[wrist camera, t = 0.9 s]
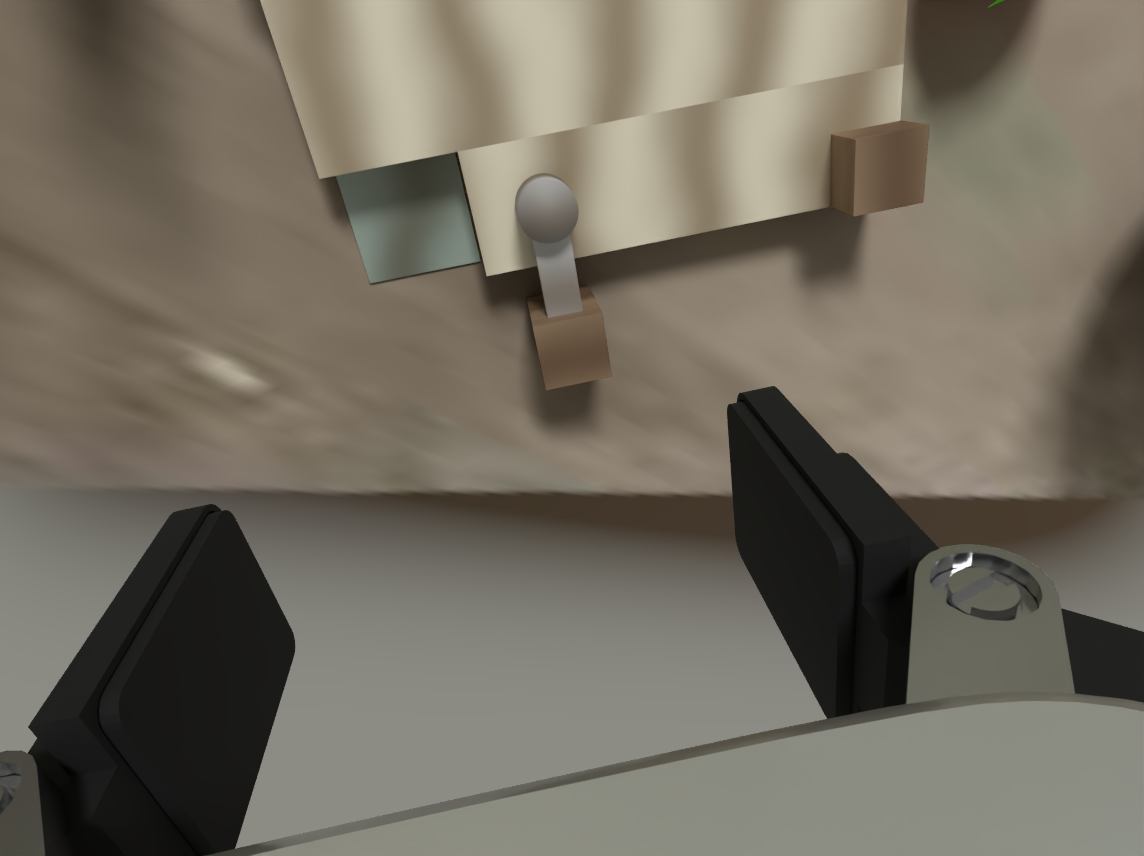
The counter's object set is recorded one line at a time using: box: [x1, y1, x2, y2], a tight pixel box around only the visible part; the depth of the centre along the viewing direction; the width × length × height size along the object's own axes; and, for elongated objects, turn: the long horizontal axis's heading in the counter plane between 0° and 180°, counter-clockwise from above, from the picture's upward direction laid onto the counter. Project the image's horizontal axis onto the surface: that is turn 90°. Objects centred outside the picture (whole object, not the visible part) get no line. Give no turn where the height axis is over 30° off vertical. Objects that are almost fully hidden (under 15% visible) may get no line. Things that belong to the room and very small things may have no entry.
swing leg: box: [515, 173, 612, 390], centre depth 35 cm, size 10×4×5 cm, turn 10°
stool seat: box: [260, 0, 929, 283], centre depth 30 cm, size 28×20×5 cm
